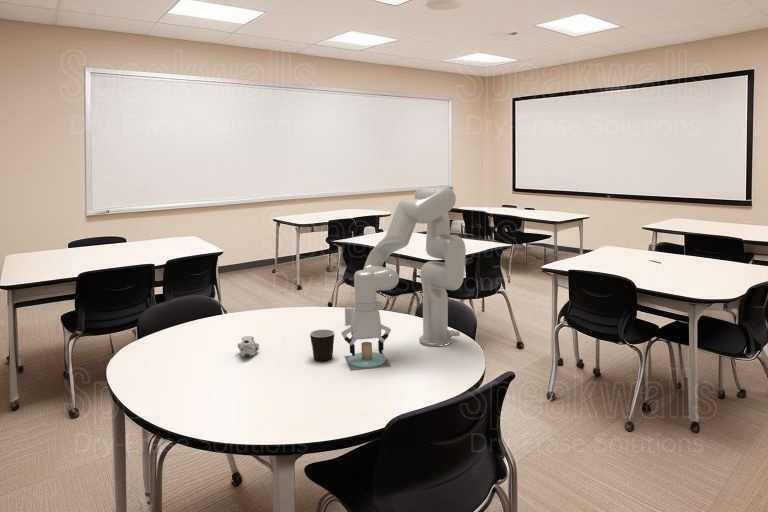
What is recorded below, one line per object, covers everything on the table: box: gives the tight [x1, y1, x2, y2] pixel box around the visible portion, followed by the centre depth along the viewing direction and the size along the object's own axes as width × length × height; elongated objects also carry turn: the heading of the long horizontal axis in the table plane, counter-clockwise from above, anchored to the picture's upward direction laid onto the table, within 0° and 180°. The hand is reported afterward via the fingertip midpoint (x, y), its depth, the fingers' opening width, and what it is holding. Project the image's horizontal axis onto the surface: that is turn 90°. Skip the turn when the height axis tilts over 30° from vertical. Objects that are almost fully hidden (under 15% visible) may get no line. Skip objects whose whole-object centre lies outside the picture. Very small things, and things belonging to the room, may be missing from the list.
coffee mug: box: [309, 328, 335, 363], centre depth 187 cm, size 12×9×10 cm
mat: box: [344, 352, 392, 372], centre depth 184 cm, size 14×14×1 cm
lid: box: [348, 341, 387, 369], centre depth 183 cm, size 13×13×6 cm
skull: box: [237, 335, 260, 358], centre depth 192 cm, size 8×9×12 cm
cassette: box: [344, 307, 355, 327], centre depth 226 cm, size 12×2×8 cm, turn 87°
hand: (366, 353), depth 183 cm, fingers open, 9 cm apart
